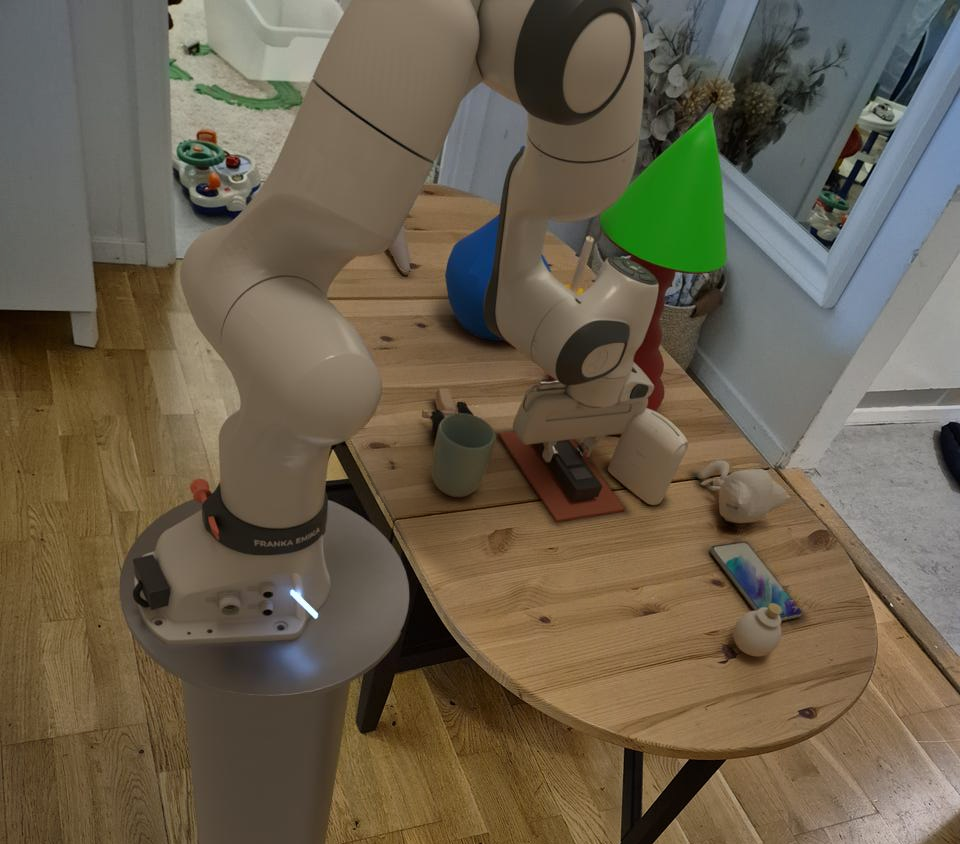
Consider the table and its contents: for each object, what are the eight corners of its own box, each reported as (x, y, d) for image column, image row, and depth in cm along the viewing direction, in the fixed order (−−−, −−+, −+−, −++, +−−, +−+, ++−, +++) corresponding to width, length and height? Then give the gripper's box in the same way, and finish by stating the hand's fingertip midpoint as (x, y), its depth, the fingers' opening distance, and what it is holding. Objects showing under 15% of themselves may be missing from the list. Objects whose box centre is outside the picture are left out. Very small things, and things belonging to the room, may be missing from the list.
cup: (491, 491, 120) (507, 436, 113) (455, 512, 116) (469, 456, 108) (452, 462, 123) (466, 406, 115) (416, 481, 118) (427, 424, 111)
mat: (556, 522, 119) (556, 519, 119) (498, 435, 129) (498, 432, 129) (623, 511, 124) (624, 508, 124) (562, 428, 134) (563, 425, 134)
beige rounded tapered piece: (673, 506, 134) (734, 533, 122) (679, 456, 131) (743, 478, 118) (720, 501, 138) (785, 526, 126) (727, 451, 134) (795, 472, 122)
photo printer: (601, 470, 129) (629, 403, 120) (619, 462, 132) (647, 396, 122) (649, 509, 125) (681, 444, 116) (666, 500, 128) (699, 436, 119)
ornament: (718, 632, 112) (751, 581, 104) (763, 627, 114) (799, 578, 107) (737, 667, 108) (774, 618, 101) (784, 662, 111) (823, 614, 103)
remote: (598, 497, 123) (603, 484, 121) (572, 501, 121) (577, 488, 119) (553, 433, 130) (557, 421, 129) (527, 436, 129) (531, 423, 127)
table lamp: (678, 420, 143) (811, 140, 109) (600, 449, 133) (720, 150, 99) (601, 358, 151) (703, 78, 117) (522, 380, 140) (609, 81, 107)
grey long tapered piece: (448, 254, 154) (401, 173, 165) (406, 254, 150) (360, 171, 161) (438, 291, 160) (393, 210, 171) (397, 291, 157) (354, 208, 167)
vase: (532, 308, 157) (579, 139, 135) (539, 362, 145) (592, 186, 123) (437, 290, 154) (469, 114, 131) (437, 344, 142) (472, 160, 120)
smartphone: (746, 540, 124) (805, 613, 116) (743, 544, 125) (801, 617, 117) (708, 545, 121) (766, 621, 113) (706, 549, 122) (763, 625, 114)
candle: (579, 325, 157) (606, 245, 145) (553, 320, 156) (577, 238, 144) (578, 311, 160) (603, 232, 148) (552, 306, 159) (576, 225, 148)
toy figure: (408, 405, 130) (441, 464, 121) (418, 370, 125) (453, 427, 117) (448, 408, 133) (484, 464, 124) (459, 373, 129) (497, 429, 120)
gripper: (539, 397, 108) (514, 479, 118) (664, 386, 116) (630, 463, 127) (519, 369, 111) (496, 451, 122) (641, 360, 120) (610, 437, 130)
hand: (565, 457), depth 124 cm, fingers closed on remote, 4 cm apart
